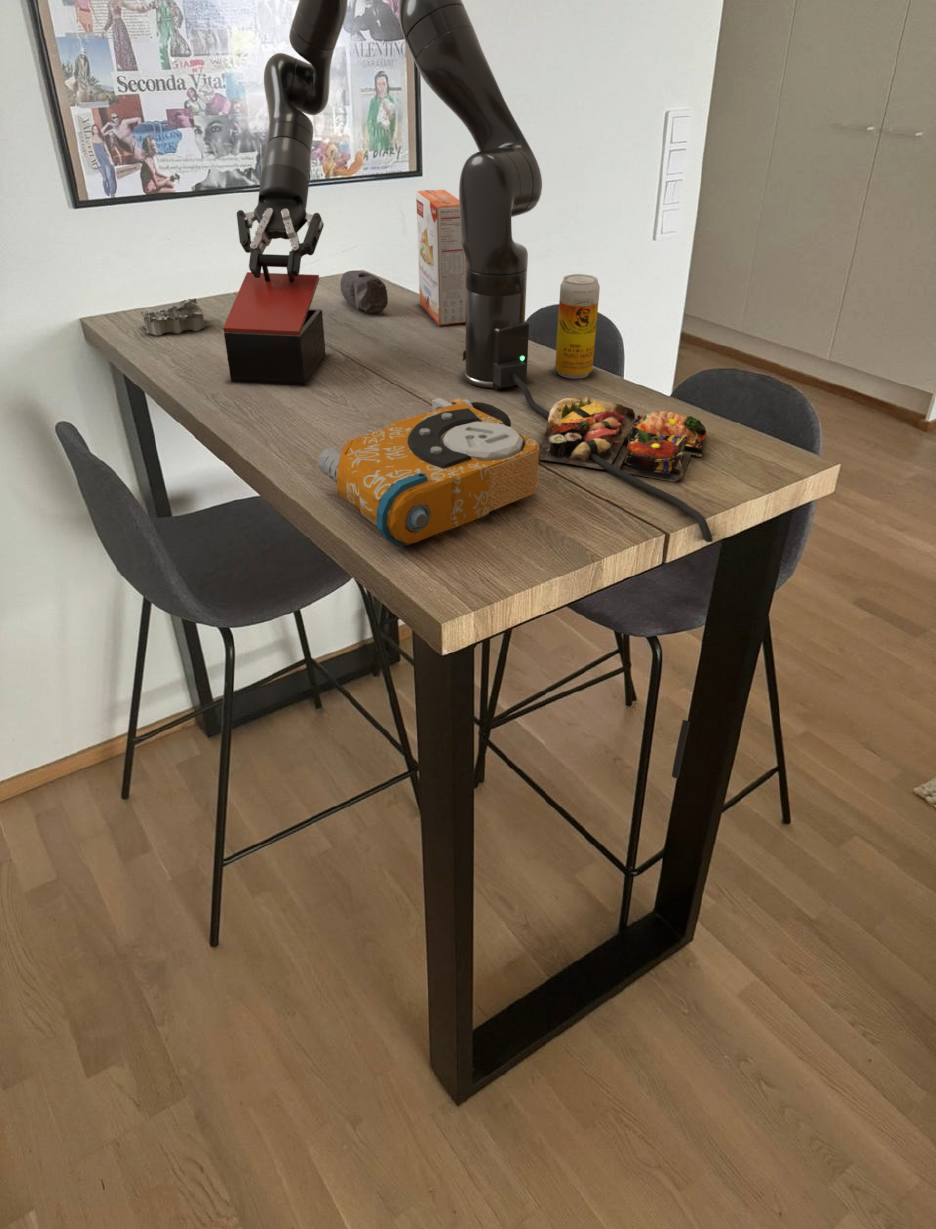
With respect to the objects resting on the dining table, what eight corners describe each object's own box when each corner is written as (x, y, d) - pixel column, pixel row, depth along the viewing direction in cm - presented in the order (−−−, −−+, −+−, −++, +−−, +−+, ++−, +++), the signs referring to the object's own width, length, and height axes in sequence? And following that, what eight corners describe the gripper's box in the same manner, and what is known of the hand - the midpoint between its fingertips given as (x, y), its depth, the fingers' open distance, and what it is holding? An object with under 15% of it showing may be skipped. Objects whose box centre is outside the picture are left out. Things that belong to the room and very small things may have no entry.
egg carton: (202, 319, 168) (198, 297, 166) (207, 331, 162) (204, 308, 160) (143, 325, 165) (138, 302, 163) (146, 337, 159) (141, 314, 157)
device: (283, 427, 108) (475, 372, 123) (290, 489, 112) (474, 429, 128) (390, 497, 93) (592, 425, 109) (394, 564, 98) (587, 486, 114)
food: (526, 459, 120) (527, 434, 118) (562, 408, 134) (564, 385, 132) (691, 485, 114) (696, 460, 112) (710, 430, 128) (714, 406, 126)
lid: (247, 276, 146) (240, 247, 142) (319, 279, 145) (314, 249, 141) (223, 332, 138) (215, 303, 133) (300, 335, 137) (293, 306, 132)
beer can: (562, 381, 144) (569, 285, 135) (549, 368, 148) (555, 274, 140) (597, 377, 145) (606, 282, 136) (583, 365, 150) (591, 272, 141)
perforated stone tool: (333, 300, 179) (330, 263, 175) (357, 296, 181) (354, 260, 177) (366, 320, 168) (363, 282, 164) (390, 316, 171) (389, 278, 167)
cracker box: (417, 305, 176) (414, 190, 164) (446, 303, 178) (446, 188, 166) (436, 327, 166) (435, 205, 153) (468, 324, 167) (468, 203, 155)
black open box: (257, 352, 153) (251, 306, 149) (325, 355, 152) (322, 309, 148) (230, 382, 142) (223, 333, 138) (304, 385, 141) (299, 336, 137)
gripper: (234, 161, 140) (220, 261, 137) (323, 163, 139) (312, 265, 136) (249, 190, 147) (237, 286, 145) (334, 193, 146) (323, 290, 144)
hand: (273, 275), depth 141 cm, fingers closed on lid, 5 cm apart
